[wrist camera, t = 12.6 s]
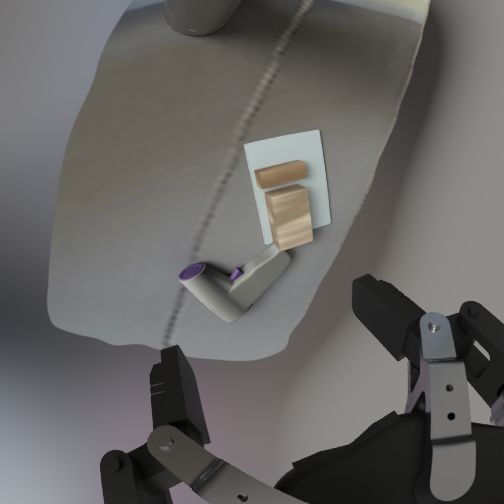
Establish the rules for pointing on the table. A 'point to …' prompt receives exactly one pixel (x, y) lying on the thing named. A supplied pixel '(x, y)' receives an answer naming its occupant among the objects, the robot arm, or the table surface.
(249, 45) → the table surface
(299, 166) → the rail
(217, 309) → the infrared thermometer
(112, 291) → the table surface
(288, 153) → the silicone mat
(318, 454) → the robot arm
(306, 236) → the wooden block
